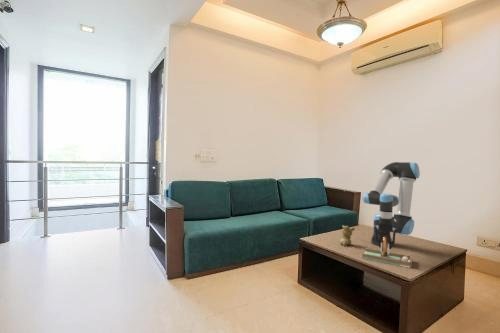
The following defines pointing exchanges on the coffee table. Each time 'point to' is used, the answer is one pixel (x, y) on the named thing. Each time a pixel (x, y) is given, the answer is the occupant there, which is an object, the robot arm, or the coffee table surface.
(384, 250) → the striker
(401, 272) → the coffee table surface
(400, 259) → the pitch
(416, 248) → the coffee table surface
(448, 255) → the coffee table surface
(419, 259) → the coffee table surface
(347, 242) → the figurine
